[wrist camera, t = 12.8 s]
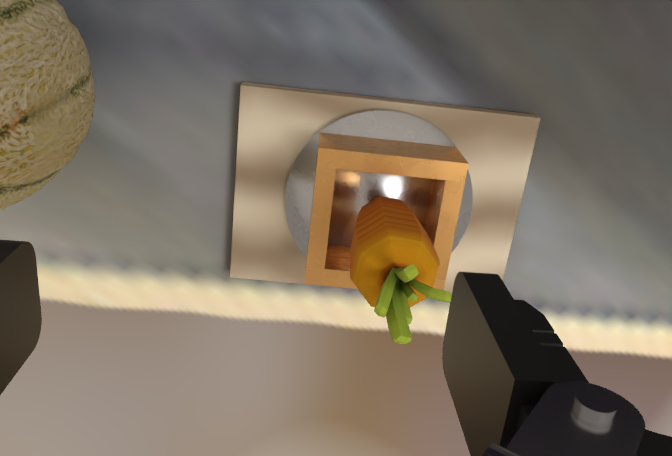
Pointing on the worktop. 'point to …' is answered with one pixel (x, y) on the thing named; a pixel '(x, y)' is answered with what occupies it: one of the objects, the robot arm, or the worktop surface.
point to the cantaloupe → (40, 95)
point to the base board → (325, 107)
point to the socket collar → (374, 187)
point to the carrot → (393, 263)
